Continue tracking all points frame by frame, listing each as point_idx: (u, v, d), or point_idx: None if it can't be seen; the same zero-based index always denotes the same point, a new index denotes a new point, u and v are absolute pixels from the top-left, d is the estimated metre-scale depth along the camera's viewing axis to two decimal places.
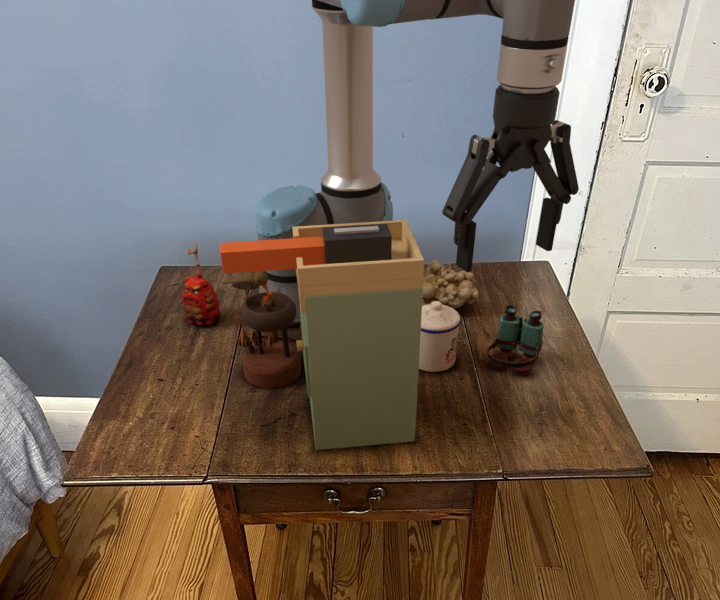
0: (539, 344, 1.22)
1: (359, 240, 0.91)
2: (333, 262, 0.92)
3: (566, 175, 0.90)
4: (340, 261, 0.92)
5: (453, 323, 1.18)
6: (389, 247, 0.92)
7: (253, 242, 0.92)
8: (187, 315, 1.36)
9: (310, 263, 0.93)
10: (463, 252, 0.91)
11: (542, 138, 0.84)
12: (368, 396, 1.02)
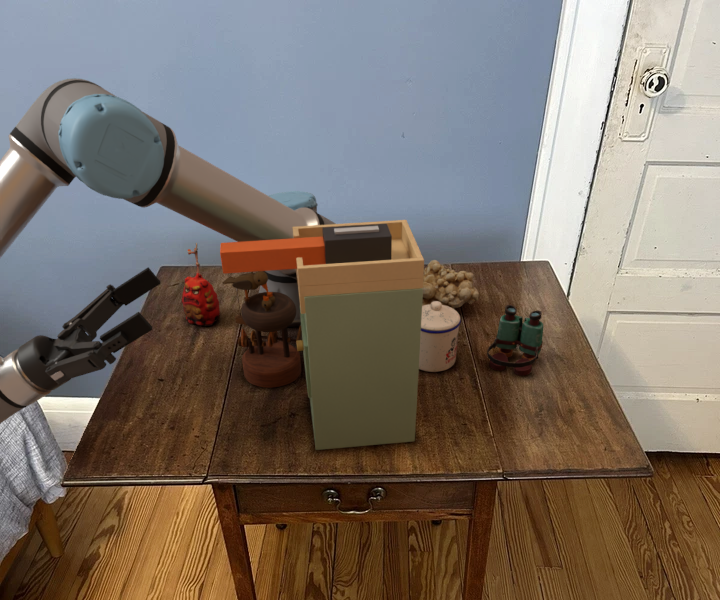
0: (539, 344, 1.22)
1: (359, 240, 0.91)
2: (333, 262, 0.92)
3: (98, 301, 1.03)
4: (340, 261, 0.92)
5: (453, 323, 1.18)
6: (389, 247, 0.92)
7: (253, 242, 0.92)
8: (187, 315, 1.36)
9: (310, 263, 0.93)
10: (130, 329, 0.90)
11: None
12: (368, 396, 1.02)
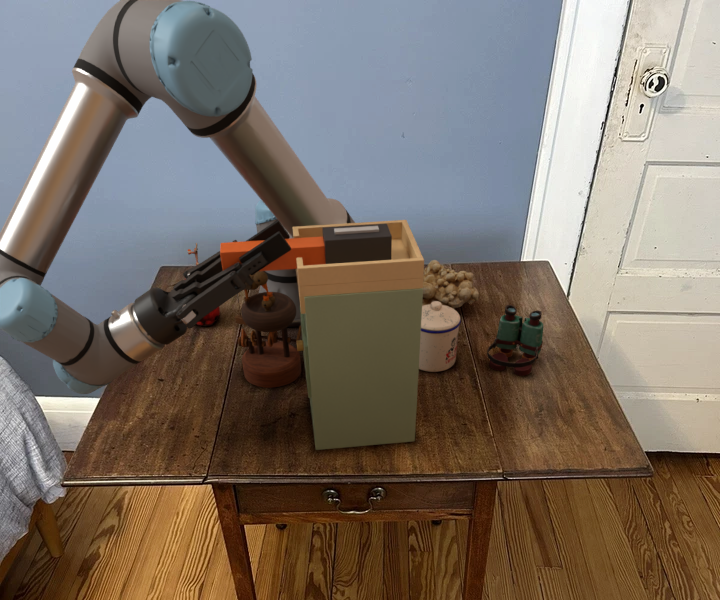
0: (539, 344, 1.22)
1: (359, 240, 0.91)
2: (333, 262, 0.92)
3: (219, 257, 0.97)
4: (340, 261, 0.92)
5: (453, 323, 1.18)
6: (389, 247, 0.92)
7: (253, 242, 0.92)
8: None
9: (310, 263, 0.93)
10: (270, 250, 0.90)
11: None
12: (368, 396, 1.02)
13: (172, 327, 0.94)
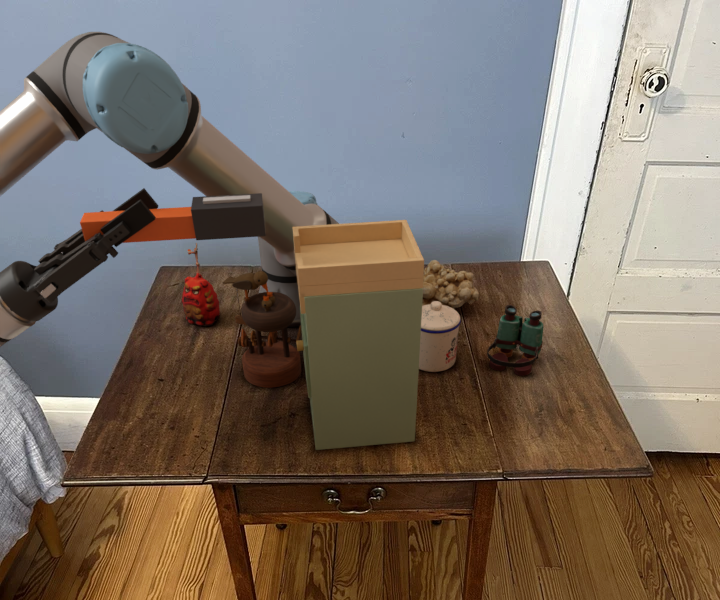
0: (539, 344, 1.22)
1: (228, 209, 0.86)
2: (203, 233, 0.88)
3: None
4: (210, 232, 0.88)
5: (453, 323, 1.18)
6: (261, 218, 0.87)
7: (118, 212, 0.88)
8: (187, 315, 1.36)
9: (179, 234, 0.88)
10: (132, 219, 0.85)
11: None
12: (368, 396, 1.02)
13: (35, 302, 0.89)
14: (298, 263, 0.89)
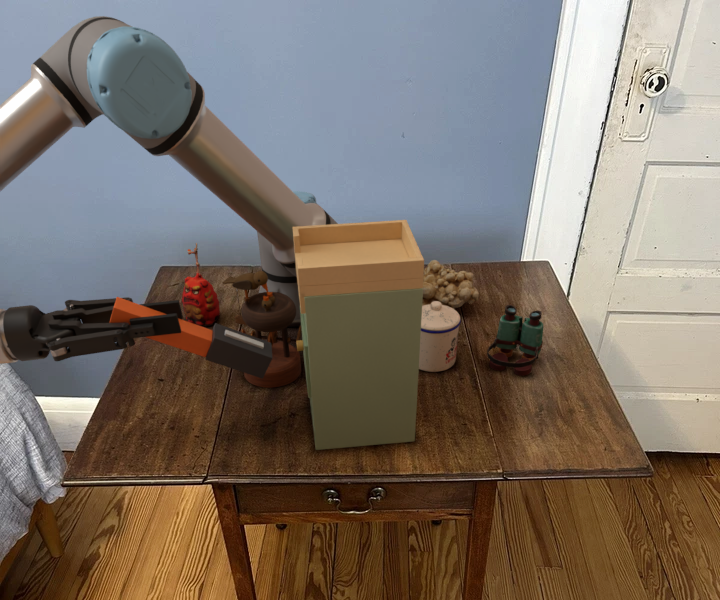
0: (539, 344, 1.22)
1: (244, 350, 1.00)
2: (214, 357, 1.00)
3: (108, 304, 0.99)
4: (220, 359, 1.00)
5: (453, 323, 1.18)
6: (266, 365, 1.02)
7: (148, 309, 0.97)
8: (187, 315, 1.36)
9: (193, 349, 0.99)
10: (162, 325, 0.95)
11: None
12: (368, 396, 1.02)
13: (36, 350, 0.94)
14: (298, 263, 0.89)
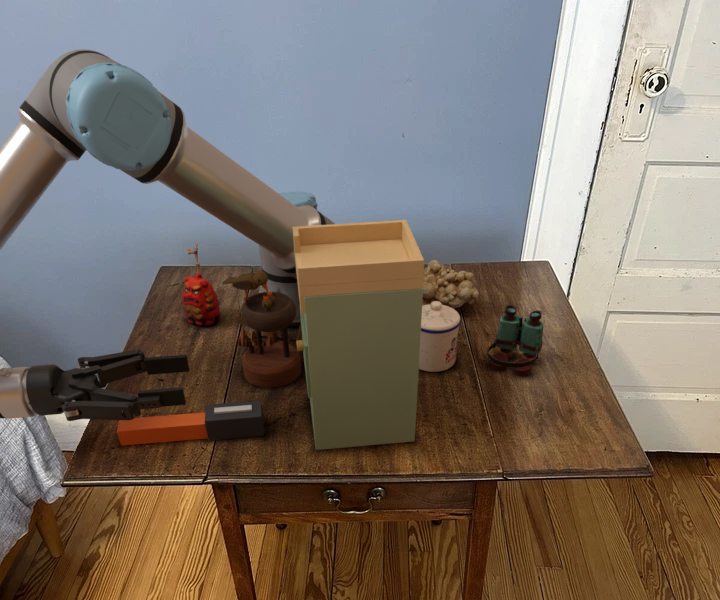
0: (539, 344, 1.22)
1: (234, 420, 1.08)
2: (214, 436, 1.10)
3: (121, 358, 1.07)
4: (220, 435, 1.10)
5: (453, 323, 1.18)
6: (260, 424, 1.09)
7: (146, 419, 1.10)
8: (187, 315, 1.36)
9: (195, 436, 1.10)
10: (167, 397, 1.01)
11: None
12: (368, 396, 1.02)
13: (56, 408, 1.01)
14: (298, 263, 0.89)
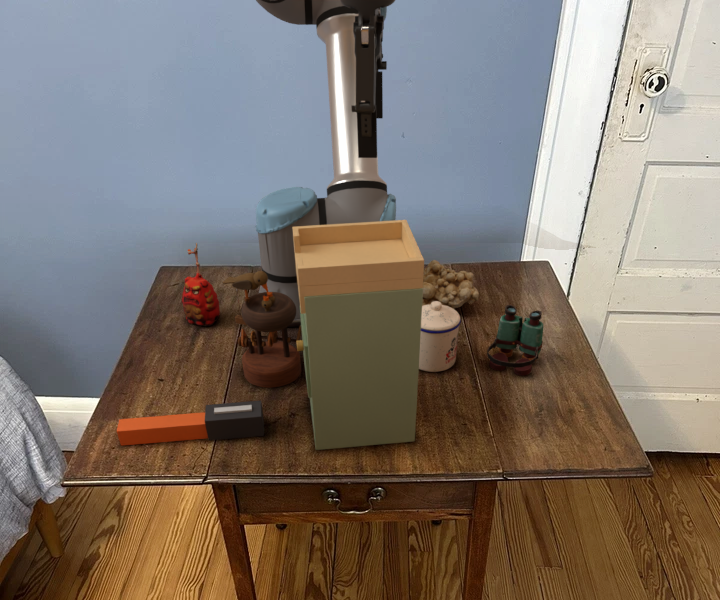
0: (539, 344, 1.22)
1: (234, 420, 1.08)
2: (214, 436, 1.10)
3: None
4: (220, 435, 1.10)
5: (453, 323, 1.18)
6: (260, 424, 1.09)
7: (146, 419, 1.10)
8: (187, 315, 1.36)
9: (195, 436, 1.10)
10: None
11: None
12: (368, 396, 1.02)
13: None
14: (298, 263, 0.89)
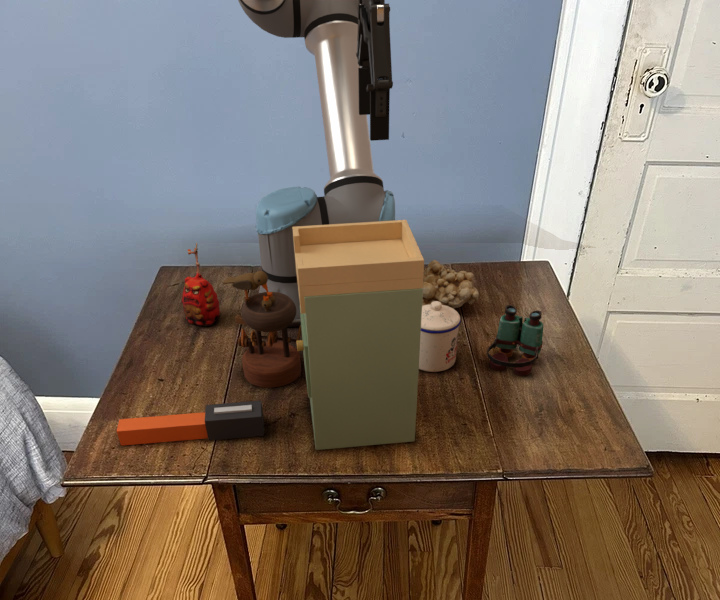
0: (539, 344, 1.22)
1: (234, 420, 1.08)
2: (214, 436, 1.10)
3: None
4: (220, 435, 1.10)
5: (453, 323, 1.18)
6: (260, 424, 1.09)
7: (146, 419, 1.10)
8: (187, 315, 1.36)
9: (195, 436, 1.10)
10: None
11: (367, 9, 0.93)
12: (368, 396, 1.02)
13: None
14: (298, 263, 0.89)
